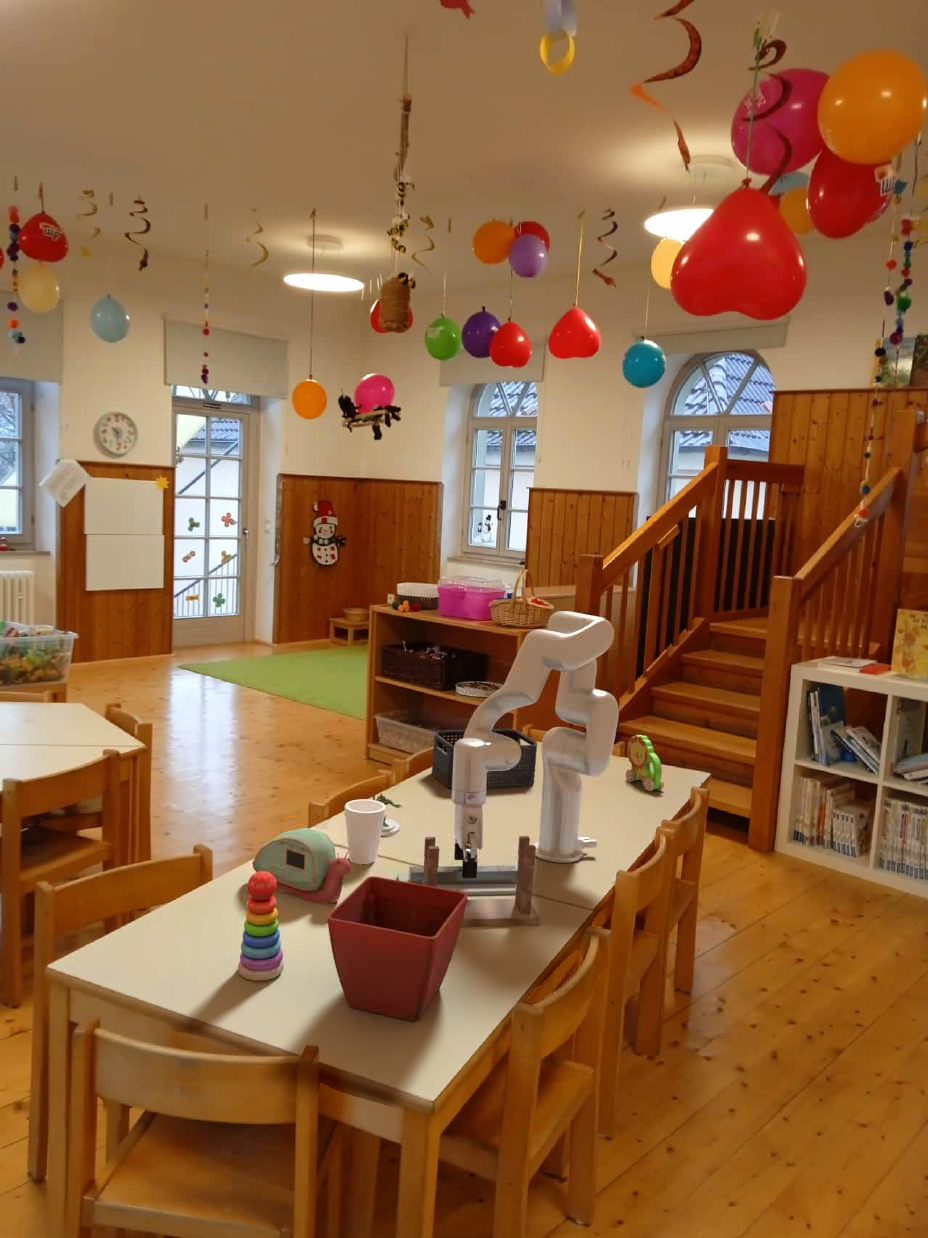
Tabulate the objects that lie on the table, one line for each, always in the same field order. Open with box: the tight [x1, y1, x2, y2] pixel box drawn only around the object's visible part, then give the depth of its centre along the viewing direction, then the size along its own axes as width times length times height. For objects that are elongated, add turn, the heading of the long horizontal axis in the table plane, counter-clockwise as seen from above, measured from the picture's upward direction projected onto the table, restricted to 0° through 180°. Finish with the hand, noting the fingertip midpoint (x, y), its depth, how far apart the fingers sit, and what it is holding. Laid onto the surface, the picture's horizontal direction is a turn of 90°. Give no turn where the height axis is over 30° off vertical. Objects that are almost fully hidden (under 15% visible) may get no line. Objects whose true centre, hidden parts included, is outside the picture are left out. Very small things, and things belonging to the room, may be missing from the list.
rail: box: [408, 865, 518, 885], centre depth 209 cm, size 24×3×3 cm, turn 100°
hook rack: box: [423, 835, 541, 927], centre depth 194 cm, size 25×9×16 cm, turn 101°
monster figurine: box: [371, 789, 403, 837], centre depth 240 cm, size 12×12×10 cm
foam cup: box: [344, 798, 387, 865], centre depth 219 cm, size 10×9×13 cm
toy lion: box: [625, 734, 665, 792], centre depth 291 cm, size 16×5×15 cm, turn 25°
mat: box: [396, 873, 516, 896], centre depth 209 cm, size 28×10×1 cm, turn 101°
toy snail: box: [251, 827, 352, 905], centre depth 200 cm, size 25×8×14 cm, turn 58°
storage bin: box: [431, 728, 538, 790], centre depth 287 cm, size 29×19×13 cm
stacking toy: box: [237, 871, 285, 982], centre depth 166 cm, size 8×8×19 cm
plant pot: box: [327, 875, 469, 1022], centre depth 161 cm, size 19×19×17 cm
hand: (465, 868), depth 209 cm, fingers open, 9 cm apart
